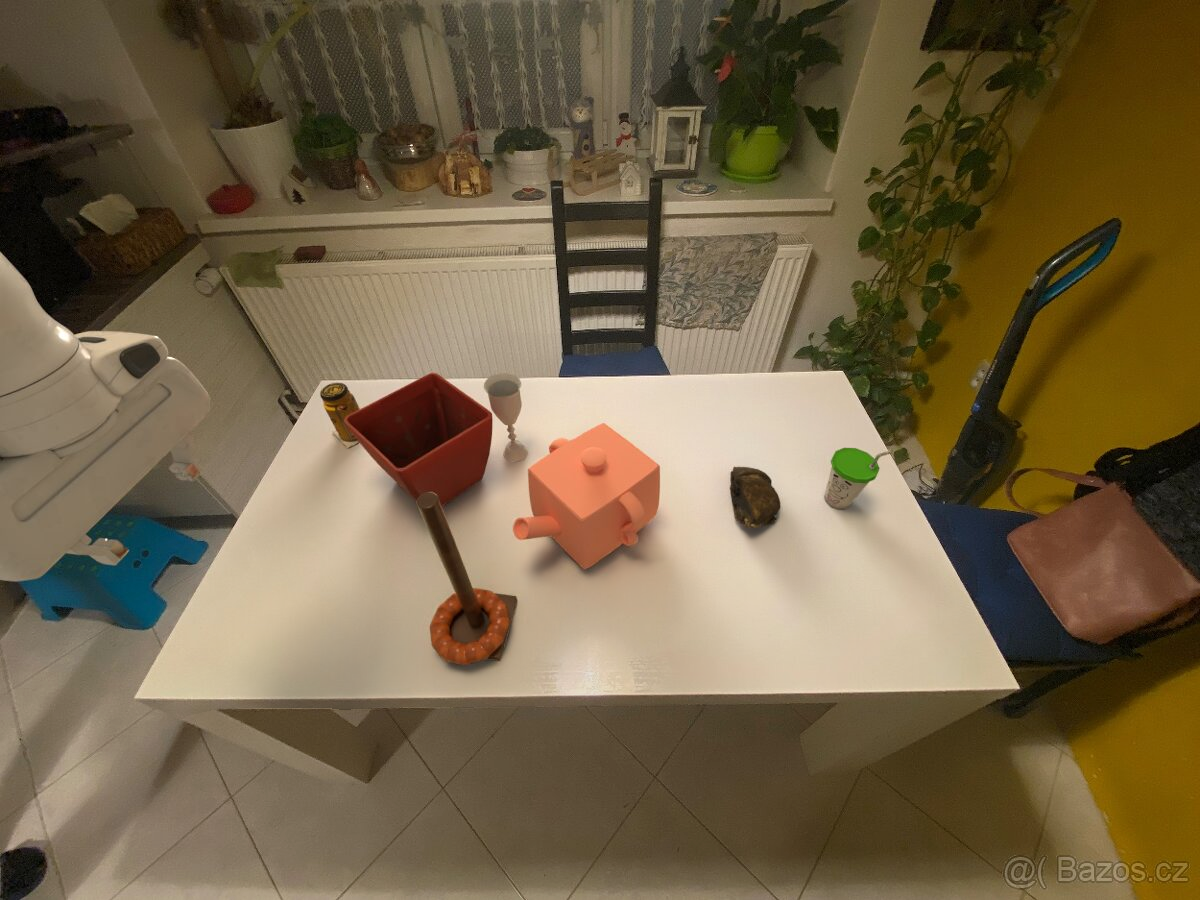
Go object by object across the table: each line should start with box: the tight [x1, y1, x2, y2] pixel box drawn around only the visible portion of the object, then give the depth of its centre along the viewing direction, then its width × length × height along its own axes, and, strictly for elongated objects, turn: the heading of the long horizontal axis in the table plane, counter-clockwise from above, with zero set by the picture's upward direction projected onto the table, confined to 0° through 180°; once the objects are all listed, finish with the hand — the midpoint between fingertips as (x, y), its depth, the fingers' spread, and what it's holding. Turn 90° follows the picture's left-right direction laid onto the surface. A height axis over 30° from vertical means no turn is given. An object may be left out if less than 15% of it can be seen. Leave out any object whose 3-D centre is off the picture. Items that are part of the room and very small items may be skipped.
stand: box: [415, 492, 518, 662], centre depth 69 cm, size 10×10×32 cm
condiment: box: [319, 382, 361, 449], centre depth 107 cm, size 7×8×12 cm
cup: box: [823, 447, 893, 510], centre depth 91 cm, size 8×8×15 cm
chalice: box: [483, 372, 528, 463], centre depth 100 cm, size 7×7×18 cm
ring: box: [429, 587, 509, 666], centre depth 77 cm, size 12×12×3 cm
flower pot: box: [344, 372, 494, 507], centre depth 95 cm, size 19×19×17 cm
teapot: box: [512, 422, 661, 570], centre depth 85 cm, size 25×23×18 cm
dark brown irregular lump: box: [729, 466, 781, 529], centre depth 94 cm, size 16×9×7 cm, turn 178°
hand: (157, 513), depth 47 cm, fingers open, 8 cm apart
